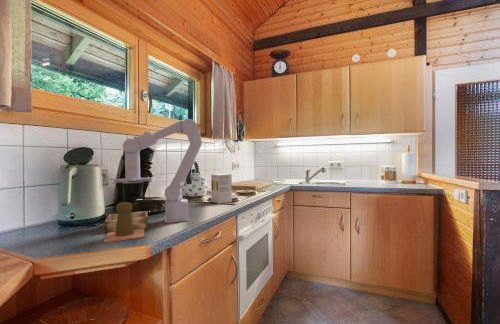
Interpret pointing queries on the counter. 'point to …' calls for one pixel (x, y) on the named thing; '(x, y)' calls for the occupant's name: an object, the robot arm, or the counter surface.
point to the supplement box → (221, 188)
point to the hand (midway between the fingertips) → (133, 200)
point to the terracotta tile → (112, 237)
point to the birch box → (137, 217)
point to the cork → (124, 219)
